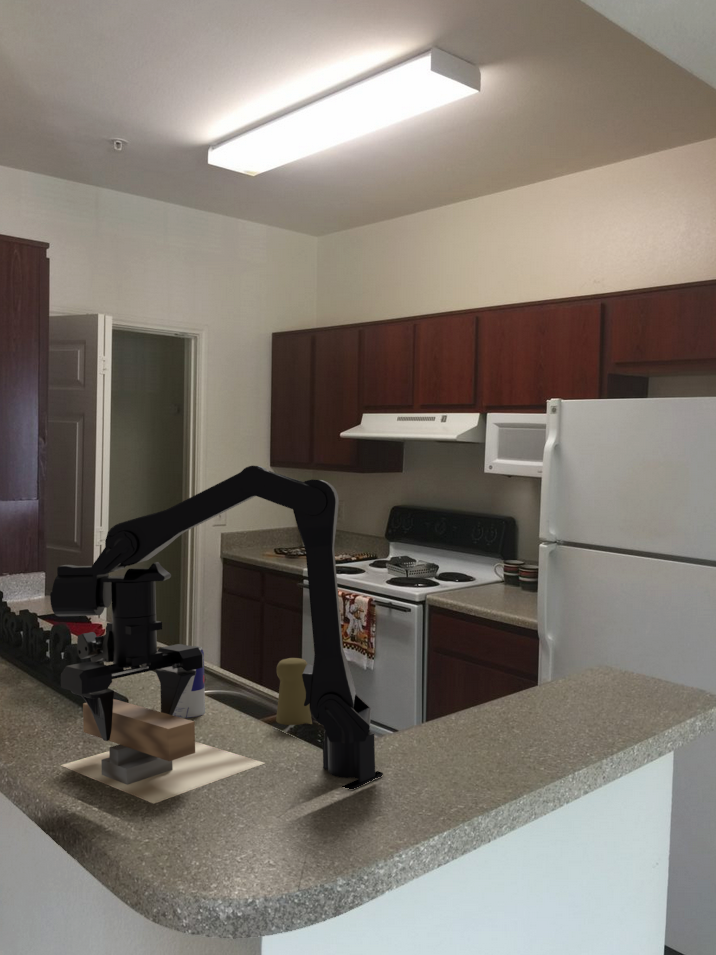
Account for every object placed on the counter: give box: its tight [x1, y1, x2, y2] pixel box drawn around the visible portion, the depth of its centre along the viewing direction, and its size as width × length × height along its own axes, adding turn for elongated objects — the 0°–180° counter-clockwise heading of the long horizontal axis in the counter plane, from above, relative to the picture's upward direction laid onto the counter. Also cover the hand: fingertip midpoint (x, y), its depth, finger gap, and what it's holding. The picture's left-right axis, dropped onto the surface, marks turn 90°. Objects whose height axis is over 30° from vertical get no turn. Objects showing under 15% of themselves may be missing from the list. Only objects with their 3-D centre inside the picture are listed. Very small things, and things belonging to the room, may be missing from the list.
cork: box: [275, 657, 313, 726], centre depth 133 cm, size 6×6×11 cm
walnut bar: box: [82, 698, 196, 761], centre depth 110 cm, size 20×4×4 cm, turn 49°
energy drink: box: [173, 645, 206, 719], centre depth 138 cm, size 5×5×12 cm
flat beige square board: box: [60, 741, 266, 804], centre depth 113 cm, size 22×18×5 cm
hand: (136, 731), depth 110 cm, fingers open, 9 cm apart
